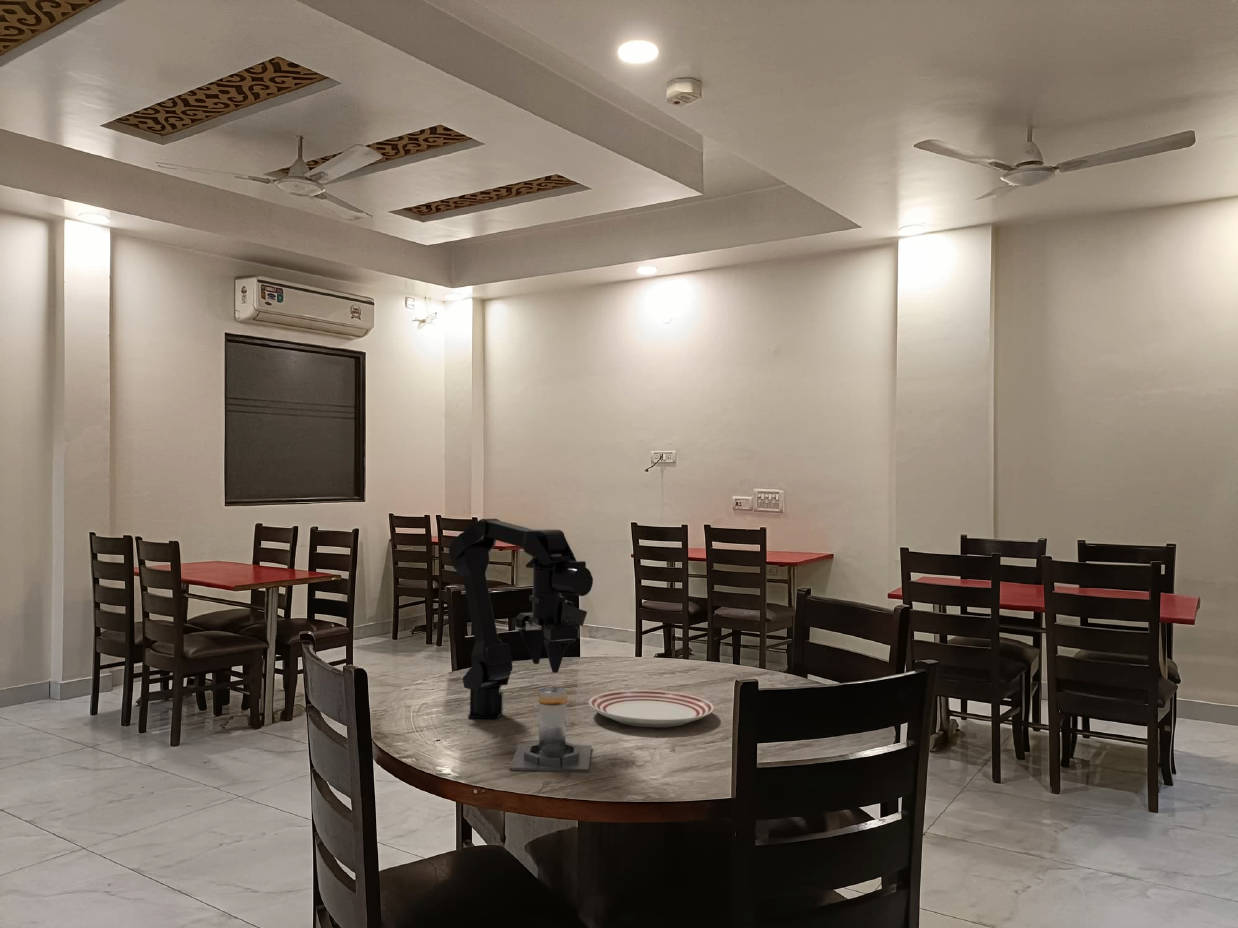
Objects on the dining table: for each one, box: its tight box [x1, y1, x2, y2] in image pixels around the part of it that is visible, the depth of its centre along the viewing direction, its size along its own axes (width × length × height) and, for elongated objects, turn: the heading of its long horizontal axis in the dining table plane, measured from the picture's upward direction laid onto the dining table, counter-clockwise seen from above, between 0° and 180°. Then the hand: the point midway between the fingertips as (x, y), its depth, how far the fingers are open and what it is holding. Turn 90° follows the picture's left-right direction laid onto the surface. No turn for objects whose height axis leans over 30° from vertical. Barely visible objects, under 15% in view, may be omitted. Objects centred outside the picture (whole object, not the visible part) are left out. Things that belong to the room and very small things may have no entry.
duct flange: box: [508, 741, 593, 773], centre depth 167 cm, size 14×14×2 cm
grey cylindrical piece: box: [538, 687, 568, 756], centre depth 167 cm, size 5×5×12 cm
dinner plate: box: [588, 689, 715, 728], centre depth 198 cm, size 27×27×3 cm
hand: (545, 667), depth 184 cm, fingers open, 9 cm apart
